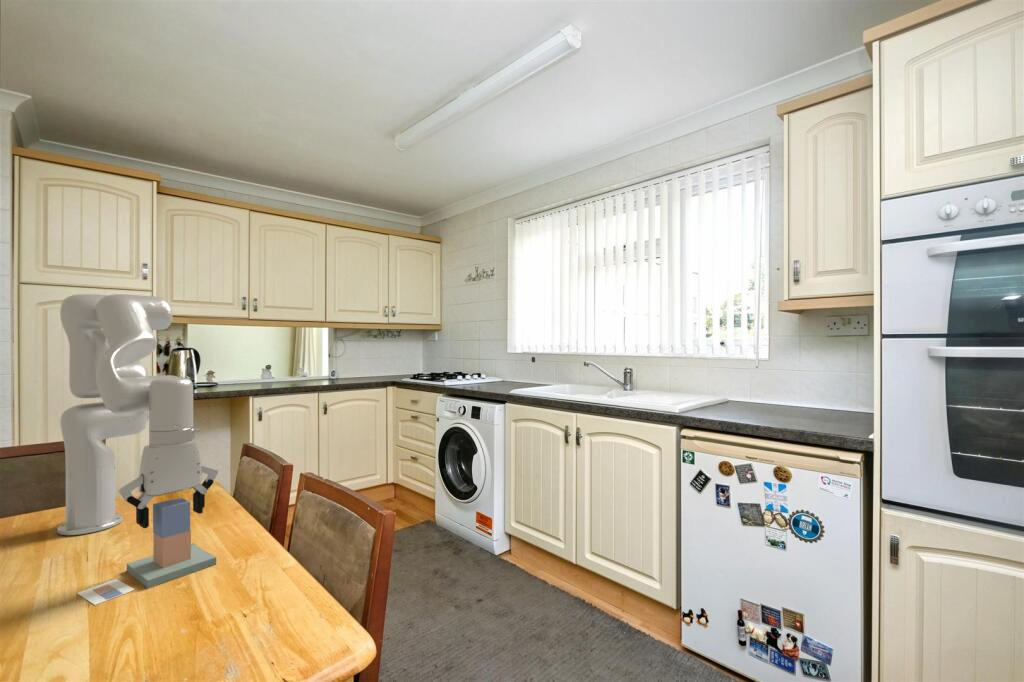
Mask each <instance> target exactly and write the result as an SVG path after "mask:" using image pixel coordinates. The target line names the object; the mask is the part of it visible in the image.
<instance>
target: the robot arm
mask: <svg viewBox="0 0 1024 682" xmlns="http://www.w3.org/2000/svg"><path fill="white" fill-rule="evenodd" d="M171 307H172V306H171V305H170V304H169V303H168V301H167V300H165V298H162V297H159V296H153V295H152V296H151V295H141V294H138V295H137V294H128V293H127V294H126V293H125V294H124V293H122V294H121V293H117V294H115V293H114V294H110V295H109V294H94V293H93V294H90V293H88V294H87V293H85V294H84V293H81V294H73V295H69V296H67V297H65V298H64V299H63V300H62V303H61V306H60V309H59V313H60V322H61V325H62V328H63V329H64V331H65V332H64V333H65V334H66V337H67V341H68V343H69V344H68V345H69V360H68V361H69V363H68V365H69V369H68V371H69V372H68V375H69V376H68V377H69V378H68V379H69V380H68V382H69V383H68V384H69V390H70V393H71V394H72V395H73V396H74V397H75V398H78V399H99V398H100V399H101V401H102V402H91V403H82V404H76V405H74V406H73V405H72V406H71V407H68V408H67V409H65V411H63V413H62V414H61V416H60V422H59V425H60V429H61V434H62V439H63V445H64V452H65V454H64V455H65V522H63V523H62V524H60V525H59V526H57V529H56V530H57V531H56V532H57V534H58V535H61V536H77V535H78V536H79V535H87V534H92V533H95V532H100V531H103V530H106V529H110V528H113V527H115V526H117V525H119V524H120V523H122V522H123V519H124V517H123V514H122V513H118V512H116V458H115V457H116V456H115V453H114V451H113V450H112V449H111V447H109V446H108V445H106V443H104V442H103V441H104V440H107V439H111V438H119V437H125V436H133V435H137V434H140V433H142V432H143V431H145V430H146V428H147V425H148V430H149V431H148V445H145V446H144V447H143V449H142V455H141V458H140V466H139V475H138V477H137V478H135V479H133V480H131V481H130V482H128V483H127V484H126V485H124V486H122V487H120V488H119V489H118V492H119V494H120V495H121V496H122V498H123V499H124V501H125V502H127V503H129V504H130V505H132V506H134V507H135V509H136V511H135V513H136V515H135V516H136V519H135V521H136V524H137V525H139V527H141V528H143V529H147V528H149V526H150V512H149V511H150V509H149V507H147V505H148V504H149V502H151V500H152V499H153V498H154V497H159V496H165V495H168V494H172V493H173V494H174V493H177V492H181V491H182V492H183V491H185V490H190V489H193V490H194V492H193V494H192V511H193V512H195V513H196V514H199V515H200V514H203V513H204V512H203V509H204V508H205V504H206V501H205V499H206V498H205V495H206V494H207V493H208V490H209V489H210V488H211V487H212V486H213V484H214V482H215V480H216V477H217V476H218V474H219V470H217V469H215V468H210V467H207V466H204V465H202V460H201V454H200V451H199V450H200V449H199V446H198V442H197V440H195V436H197V435H200V434H201V431H202V430H201V428H200V427H195V426H194V383H193V381H192V380H191V379H190V378H187V377H180V376H176V375H167V374H166V375H149V374H148V370H147V368H146V366H145V365H144V364H143V363H142V362H141V361H140V360H142V359H145V358H147V357H149V356H150V355H151V354H152V353H153V352H154V351H155V350H156V348H157V346H158V341H157V338H156V335H155V334H154V331H163V330H166V329H168V328H169V327H170V326H171V324H172V322H173V310H172V308H171ZM202 474H207V477H206V478H205V479H204V481H202V477H203V475H202ZM137 488H138V490H139V491H138V492H139V493H141V494H140V495H139V496H138V497H135V496H134V495H133V494H132V492H133V491H134V490H135V489H137Z"/></svg>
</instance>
